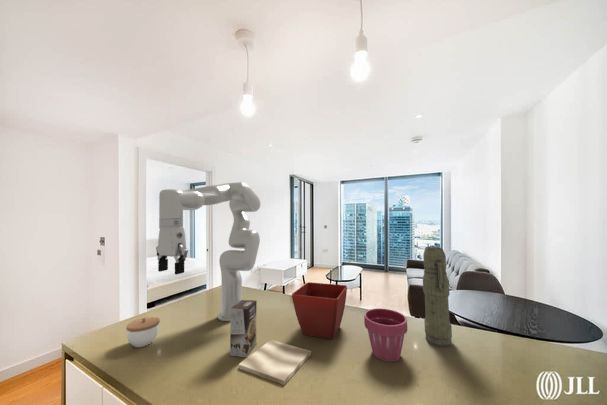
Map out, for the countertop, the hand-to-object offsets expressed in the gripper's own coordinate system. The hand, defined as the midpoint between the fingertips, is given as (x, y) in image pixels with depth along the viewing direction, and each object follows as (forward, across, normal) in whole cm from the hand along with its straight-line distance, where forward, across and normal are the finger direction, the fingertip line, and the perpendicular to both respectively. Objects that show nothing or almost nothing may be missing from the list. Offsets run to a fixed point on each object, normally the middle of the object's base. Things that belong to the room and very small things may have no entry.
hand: (171, 272), depth 85 cm
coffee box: (+29, -21, -14) cm, 38 cm away
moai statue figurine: (+30, -82, -54) cm, 102 cm away
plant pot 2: (+29, -66, -35) cm, 81 cm away
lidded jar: (+29, +17, 0) cm, 33 cm away
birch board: (+29, -35, -14) cm, 48 cm away
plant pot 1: (+30, -39, -41) cm, 64 cm away
